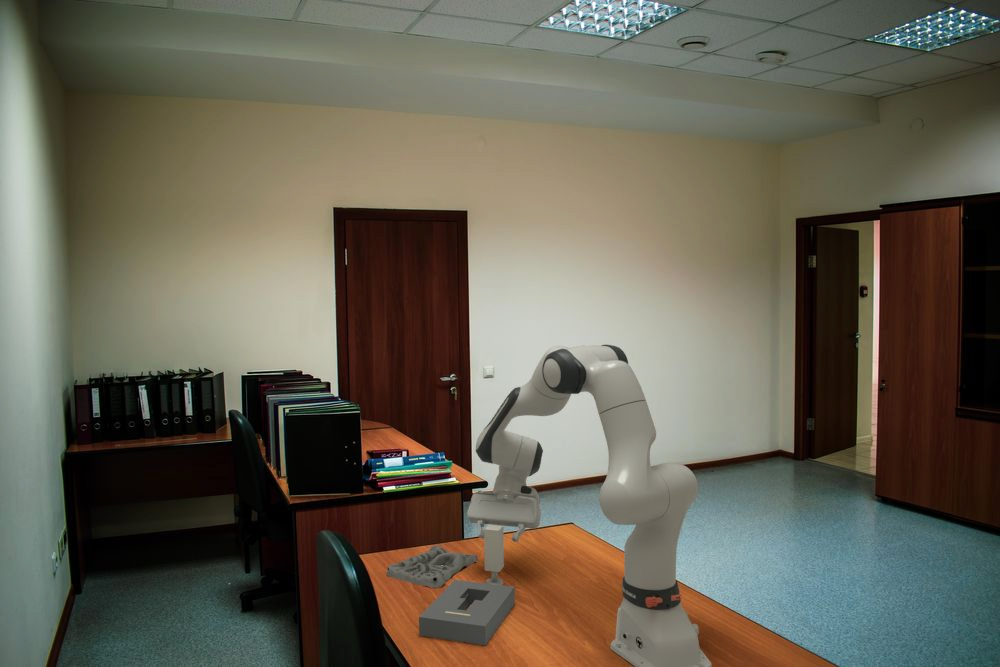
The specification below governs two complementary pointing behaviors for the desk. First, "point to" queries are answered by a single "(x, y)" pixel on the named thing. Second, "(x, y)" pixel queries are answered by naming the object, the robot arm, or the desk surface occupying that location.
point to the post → (494, 552)
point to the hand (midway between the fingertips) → (498, 539)
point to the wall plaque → (430, 567)
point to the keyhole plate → (467, 612)
